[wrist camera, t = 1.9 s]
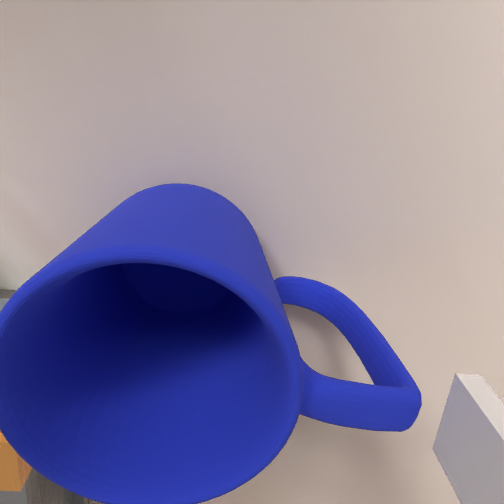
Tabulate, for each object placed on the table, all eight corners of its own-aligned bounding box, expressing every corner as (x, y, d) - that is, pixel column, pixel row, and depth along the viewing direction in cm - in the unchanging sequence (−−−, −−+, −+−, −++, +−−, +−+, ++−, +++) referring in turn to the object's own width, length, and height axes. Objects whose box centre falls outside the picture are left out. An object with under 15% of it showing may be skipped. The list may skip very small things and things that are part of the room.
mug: (327, 356, 24) (386, 544, 15) (82, 314, 23) (-23, 492, 13) (378, 201, 21) (493, 313, 12) (100, 141, 20) (-18, 215, 10)
